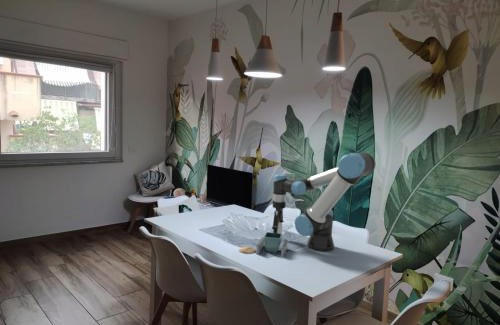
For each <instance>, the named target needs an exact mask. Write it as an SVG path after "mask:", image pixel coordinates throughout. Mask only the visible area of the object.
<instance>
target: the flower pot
mask: <svg viewBox="0 0 500 325" xmlns="http://www.w3.org/2000/svg"><path fill="white" fill-rule="evenodd" d="M282 236H283V233H282V234H281V233H273V232H270V231H269V232H268V231H267V232H265V234H264V236H263V237H264V248H265V250H266V252H267V251H268V252H269V253H278V251H279V248H280V246H281V243H282ZM268 252H267V253H268Z"/></svg>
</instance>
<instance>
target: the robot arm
mask: <svg viewBox="0 0 500 325" xmlns="http://www.w3.org/2000/svg"><path fill="white" fill-rule="evenodd" d="M375 169H376V159H375V158H374V157H373V155H372V154H370V153H367V152H350V153H348V154H344V155H343V156H342V157H341V158H340V159H339V161H338V163H337V166H336V167H333V168H331V169H327V170H326V171H325V170H324V171H322V172H319V173H317V174H315V175H311V176H309V177H306V178H300V179H290V178H288V175H287V174H283V173H277V174H275V175H274V176H273V190H272V191H273V192H272V195H271V196H272V208H273V209H275V210H274V214H273V222H272V227H271V230H273V231H272V233H280V234H282V235H283V223H285V221H284V212H283V210H284V209H285V208H286V206H287V205H286V200H287V193H288V194H292V195H295V196H296V195H297V196H298V195H299V196H302V195H304V194H305V192H312V191H314V190H316V189H319V188H322V187H325V186H327V187H326V188H325V189H324V190H323V191H322V193H321V194H320V196H319V197H318V198H317V199H316V201H315V202H314V203H313V204H312V206H308V207H306V209H305V210H304V211H303V213H302V214H299V215H297V216H296V218H295V219H294V228H295V230H296V231H297V233H298V234H299V235H301V236H303V237H309V238H308V240H307V246H306V247H307V248H308V249H310V250H312V251H315V252H316V251H317V252H322V253H323V252H325V253H326V252H327V253H328V252H332V251H334V250H335V243H334V239H333V223H334V222H333V221H334V210H332V209H333V208H334V207H335V205H336V204H337V203H338V202H339V200H340V199H341V198H342V197H343V195H344V194H345V193H346V192H347V190H349V188H350V187H351V186H354V185H357V183H359V181H360V180H361V179H362V177H365V176H369V175H371V174H372V173H373V172H374V171H375Z"/></svg>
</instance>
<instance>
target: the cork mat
mask: <svg viewBox="0 0 500 325" xmlns="http://www.w3.org/2000/svg"><path fill="white" fill-rule="evenodd" d="M256 250H257V249H255V248H254V247H250V246H242V247H239V249H238V252H240V253H241V254H245V255H249V254H254V253H255V254H256Z"/></svg>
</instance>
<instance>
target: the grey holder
mask: <svg viewBox="0 0 500 325" xmlns="http://www.w3.org/2000/svg"><path fill="white" fill-rule="evenodd" d="M263 248H265V242H264V236H262V237H261V239H259V241H258V243H257V244H256V249H255V250H256V251H255V254H256V255H259V254H260V253H261V252H262V250H263ZM280 250H281V251H280V258H284V257H285V255H286V252H287V250H288V239H285V241H284V242H283V244H282V245H281V249H280Z"/></svg>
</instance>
